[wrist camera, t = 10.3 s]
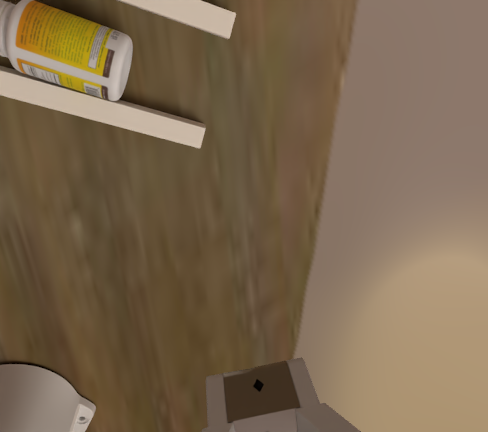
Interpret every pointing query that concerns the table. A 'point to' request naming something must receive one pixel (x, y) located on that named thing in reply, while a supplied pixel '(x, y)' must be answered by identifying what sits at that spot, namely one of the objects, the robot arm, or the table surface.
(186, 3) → the u rest
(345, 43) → the table surface
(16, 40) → the supplement bottle
